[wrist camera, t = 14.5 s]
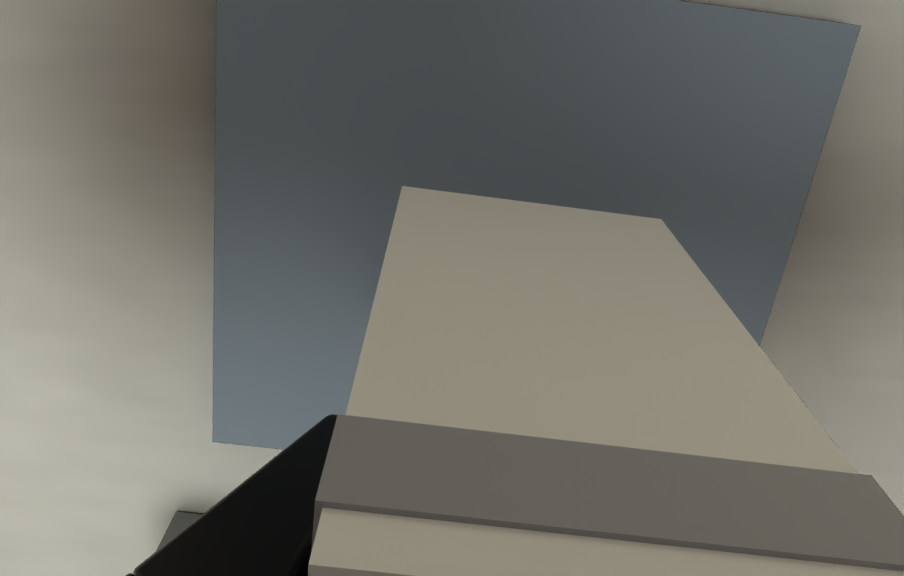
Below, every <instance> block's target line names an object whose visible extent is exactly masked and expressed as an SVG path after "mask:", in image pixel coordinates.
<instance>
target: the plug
mask: <svg viewBox="0 0 904 576" xmlns="http://www.w3.org/2000/svg"><path fill="white" fill-rule="evenodd" d="M308 576H904V516H903V515H902V513H901V512H900V511H899V510H898V508H897V507H896V506H895V505H894V503H893V502H892V501H891V500H890V498H889V497H888V496H887V494H886V493H885V492H884V491H883V489H882V488H881V487H880V486H879V484H878V483H877V482H876V481H875V479H874V478H873V477H872V476H871V475H863V474H858V473H857V472H856V471H855V469H854V468H853V467H852V465H851V464H850V463H849V461H848V460H847V459H846V458H845V456H844V455H843V454H842V452H841V451H840V450H839V449H838V447H837V446H836V445H835V443H834V442H833V441H832V439H831V438H830V437H829V436H828V434H827V433H826V432H825V430H824V429H823V428H822V427H821V425H820V424H819V423H818V421H817V420H816V419H815V417H814V416H813V415H812V414H811V412H810V411H809V410H808V408H807V407H806V406H805V405H804V403H803V402H802V401H801V399H800V398H799V397H798V395H797V394H796V393H795V392H794V390H793V389H792V388H791V386H790V385H789V384H788V383H787V381H786V380H785V379H784V377H783V376H782V375H781V373H780V372H779V371H778V370H777V368H776V367H775V366H774V364H773V363H772V362H771V361H770V359H769V358H768V357H767V355H766V354H765V353H764V351H763V350H762V349H761V348H760V346H759V345H758V344H757V342H756V341H755V340H754V339H753V337H752V336H751V335H750V333H749V332H748V331H747V329H746V328H745V327H744V326H743V324H742V323H741V322H740V320H739V319H738V318H737V317H736V315H735V314H734V313H733V311H732V310H731V309H730V308H729V306H728V305H727V304H726V302H725V301H724V300H723V298H722V297H721V296H720V295H719V293H718V292H717V291H716V289H715V288H714V287H713V286H712V284H711V283H710V282H709V280H708V279H707V278H706V276H705V275H704V274H703V273H702V271H701V270H700V269H699V267H698V266H697V265H696V264H695V262H694V261H693V260H692V258H691V257H690V256H689V254H688V253H687V252H686V251H685V249H684V248H683V247H682V245H681V244H680V243H679V242H678V240H677V239H676V238H675V236H674V235H673V234H672V232H671V231H670V230H669V229H668V227H667V226H666V225H665V223H664V222H663V221H662V220H661V219H657V218H649V217H641V216H634V215H626V214H618V213H610V212H602V211H595V210H587V209H579V208H571V207H563V206H555V205H548V204H540V203H532V202H524V201H516V200H509V199H501V198H493V197H485V196H477V195H470V194H462V193H454V192H446V191H438V190H431V189H423V188H415V187H407V186H402V189H401V193H400V197H399V201H398V205H397V209H396V213H395V217H394V221H393V225H392V229H391V233H390V237H389V241H388V245H387V249H386V253H385V257H384V261H383V265H382V269H381V273H380V277H379V282H378V286H377V290H376V294H375V298H374V302H373V306H372V310H371V314H370V318H369V322H368V326H367V330H366V334H365V338H364V342H363V346H362V350H361V354H360V358H359V362H358V366H357V370H356V374H355V378H354V382H353V386H352V391H351V395H350V399H349V403H348V407H347V411H346V415H341V414H338V415H337V419H336V423H335V427H334V431H333V434H332V438H331V442H330V446H329V449H328V453H327V457H326V461H325V465H324V468H323V472H322V476H321V480H320V483H319V487H318V491H317V495H316V499H315V508H314V521H313V534H312V548H311V556H310V560H309V564H308Z"/></svg>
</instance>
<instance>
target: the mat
mask: <svg viewBox="0 0 904 576" xmlns="http://www.w3.org/2000/svg"><path fill="white" fill-rule="evenodd" d="M860 28H861V26H859V25H853V24H847V23H841V22H833V21H826V20H819V19H812V18H805V17H797V16H790V15H783V14H776V13H768V12H761V11H754V10H747V9H740V8H732V7H725V6H718V5H711V4H703V3H696V2H689V1H682V0H216V92H215V208H214V324H213V439H212V442H219V443H228V444H237V445H246V446H255V447H264V448H273V449H283V450H284V449H286V448H287V447H288V446H289V445H291V444H292V443H293V442H294V441H296V440H297V439H298V438H299V437H301V436H302V435H303V434H304V433H306V432H307V431H308V430H310V429H311V428H312V427H313V426H315V425H316V424H317V423H318V422H320V421H321V420H322V419H323V418H325V417H326V416H328V415H330V414H335V415H338V414H341V415H346V411H347V407H348V403H349V399H350V395H351V391H352V386H353V382H354V378H355V374H356V370H357V366H358V362H359V358H360V354H361V350H362V346H363V342H364V338H365V334H366V330H367V326H368V322H369V318H370V314H371V310H372V306H373V302H374V298H375V294H376V290H377V286H378V282H379V277H380V273H381V269H382V265H383V261H384V257H385V253H386V249H387V245H388V241H389V237H390V233H391V229H392V225H393V221H394V217H395V213H396V209H397V205H398V201H399V197H400V193H401V189H402V186H407V187H415V188H423V189H431V190H438V191H446V192H454V193H462V194H470V195H477V196H485V197H493V198H501V199H509V200H516V201H524V202H532V203H540V204H548V205H555V206H563V207H571V208H579V209H587V210H595V211H602V212H610V213H618V214H626V215H634V216H641V217H649V218H657V219H661V220H662V221H663V222H664V223H665V225H666V226H667V227H668V229H669V230H670V231H671V232H672V234H673V235H674V236H675V238H676V239H677V240H678V242H679V243H680V244H681V245H682V247H683V248H684V249H685V251H686V252H687V253H688V254H689V256H690V257H691V258H692V260H693V261H694V262H695V264H696V265H697V266H698V267H699V269H700V270H701V271H702V273H703V274H704V275H705V276H706V278H707V279H708V280H709V282H710V283H711V284H712V286H713V287H714V288H715V289H716V291H717V292H718V293H719V295H720V296H721V297H722V298H723V300H724V301H725V302H726V304H727V305H728V306H729V308H730V309H731V310H732V311H733V313H734V314H735V315H736V317H737V318H738V319H739V320H740V322H741V323H742V324H743V326H744V327H745V328H746V329H747V331H748V332H749V333H750V335H751V336H752V337H753V339H754V340H755V341H756V342H757V344H758V345H759V346H760V342H761V339H762V336H763V333H764V330H765V327H766V324H767V320H768V317H769V314H770V311H771V308H772V305H773V302H774V298H775V295H776V292H777V289H778V286H779V283H780V279H781V276H782V273H783V270H784V267H785V264H786V261H787V257H788V254H789V251H790V248H791V245H792V242H793V239H794V235H795V232H796V229H797V226H798V223H799V220H800V217H801V213H802V210H803V207H804V204H805V201H806V198H807V194H808V191H809V188H810V185H811V182H812V179H813V176H814V172H815V169H816V166H817V163H818V160H819V157H820V154H821V150H822V147H823V144H824V141H825V138H826V135H827V132H828V128H829V125H830V122H831V119H832V116H833V113H834V110H835V106H836V103H837V100H838V97H839V94H840V91H841V87H842V84H843V81H844V78H845V75H846V72H847V69H848V65H849V62H850V59H851V56H852V53H853V50H854V47H855V43H856V40H857V37H858V34H859V31H860Z"/></svg>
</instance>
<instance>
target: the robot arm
mask: <svg viewBox="0 0 904 576" xmlns="http://www.w3.org/2000/svg"><path fill="white" fill-rule="evenodd" d="M336 419H337V415H335V414H330V415H328V416H326V417H325V418H323V419H322V420H321V421H320V422H318V423H317V424H316V425H315V426H313V427H312V428H311V429H310V430H308V431H307V432H306V433H304V434H303V435H302V436H301V437H299V438H298V439H297V440H296V441H294V442H293V443H292V444H291V445H289V446H288V447H287V448H286V449H284V450H283V451H282V452H281V453H279V454H278V455H277V456H276V457H274V458H273V459H272V460H271V461H269V462H268V463H267V464H266V465H264V466H263V467H262V468H261V469H259V470H258V471H257V472H256V473H254V474H253V475H252V476H251V477H249V478H248V479H247V480H246V481H244V482H243V483H242V484H241V485H239V486H238V487H237V488H235V489H234V490H233V491H232V492H230V493H229V494H228V495H227V496H225V497H224V498H223V499H222V500H220V501H219V502H218V503H217V504H215V505H214V506H213V507H212V508H210V509H209V510H208V511H207V512H205V513H204V514H203V515H202V516H200V517H199V518H198V519H197V520H195V521H194V522H193V523H192V524H190V525H189V526H188V527H187V528H185V529H184V530H183V531H182V532H180V533H179V534H178V535H177V536H175V537H174V538H173V539H172V540H170V541H169V542H168V543H166V544H165V545H164V546H163V547H161V548H160V549H159V550H158V551H156V552H155V553H154V554H153V555H151V556H150V557H149V558H148V559H146V560H145V561H144V562H143V563H141V564H140V565H139V566H138V567H136V568H135V570H134V572H133V574H132V573H130V574H127V575H126V576H308V564H309V560H310V556H311V548H312V534H313V521H314V508H315V499H316V495H317V491H318V487H319V483H320V480H321V476H322V472H323V468H324V465H325V461H326V457H327V453H328V449H329V446H330V442H331V438H332V434H333V431H334V427H335V423H336Z"/></svg>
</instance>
